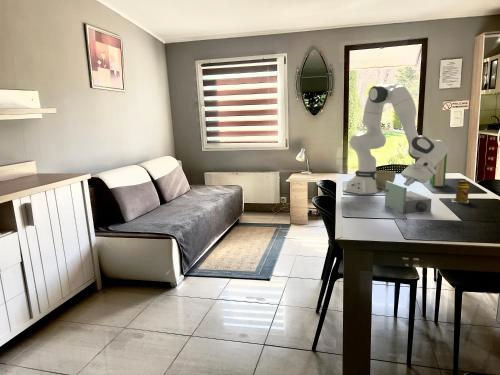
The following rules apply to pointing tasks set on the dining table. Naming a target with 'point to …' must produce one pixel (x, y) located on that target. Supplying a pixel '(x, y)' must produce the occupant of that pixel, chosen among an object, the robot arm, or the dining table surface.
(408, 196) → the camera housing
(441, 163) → the hardback book
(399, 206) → the side door
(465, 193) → the condiment
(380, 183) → the planter bowl
